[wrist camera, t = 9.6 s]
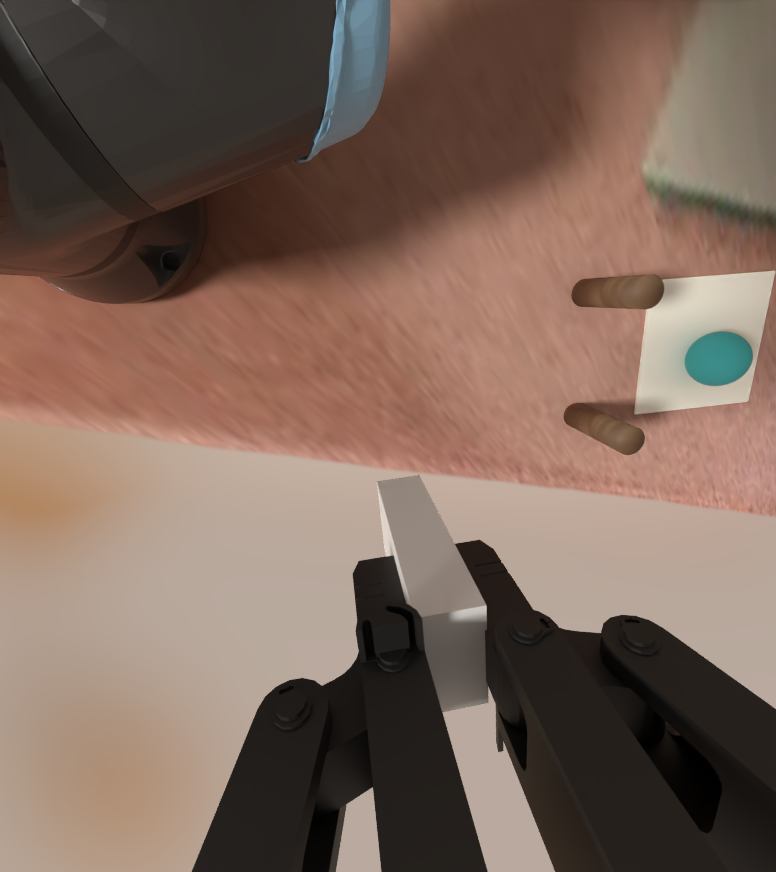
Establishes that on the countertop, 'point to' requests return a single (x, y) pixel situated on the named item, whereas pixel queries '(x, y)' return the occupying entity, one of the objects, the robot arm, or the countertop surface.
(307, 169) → the countertop surface
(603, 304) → the post inner
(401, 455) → the countertop surface
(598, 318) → the countertop surface
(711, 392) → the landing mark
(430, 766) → the robot arm
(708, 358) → the ball
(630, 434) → the post outer
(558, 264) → the countertop surface
